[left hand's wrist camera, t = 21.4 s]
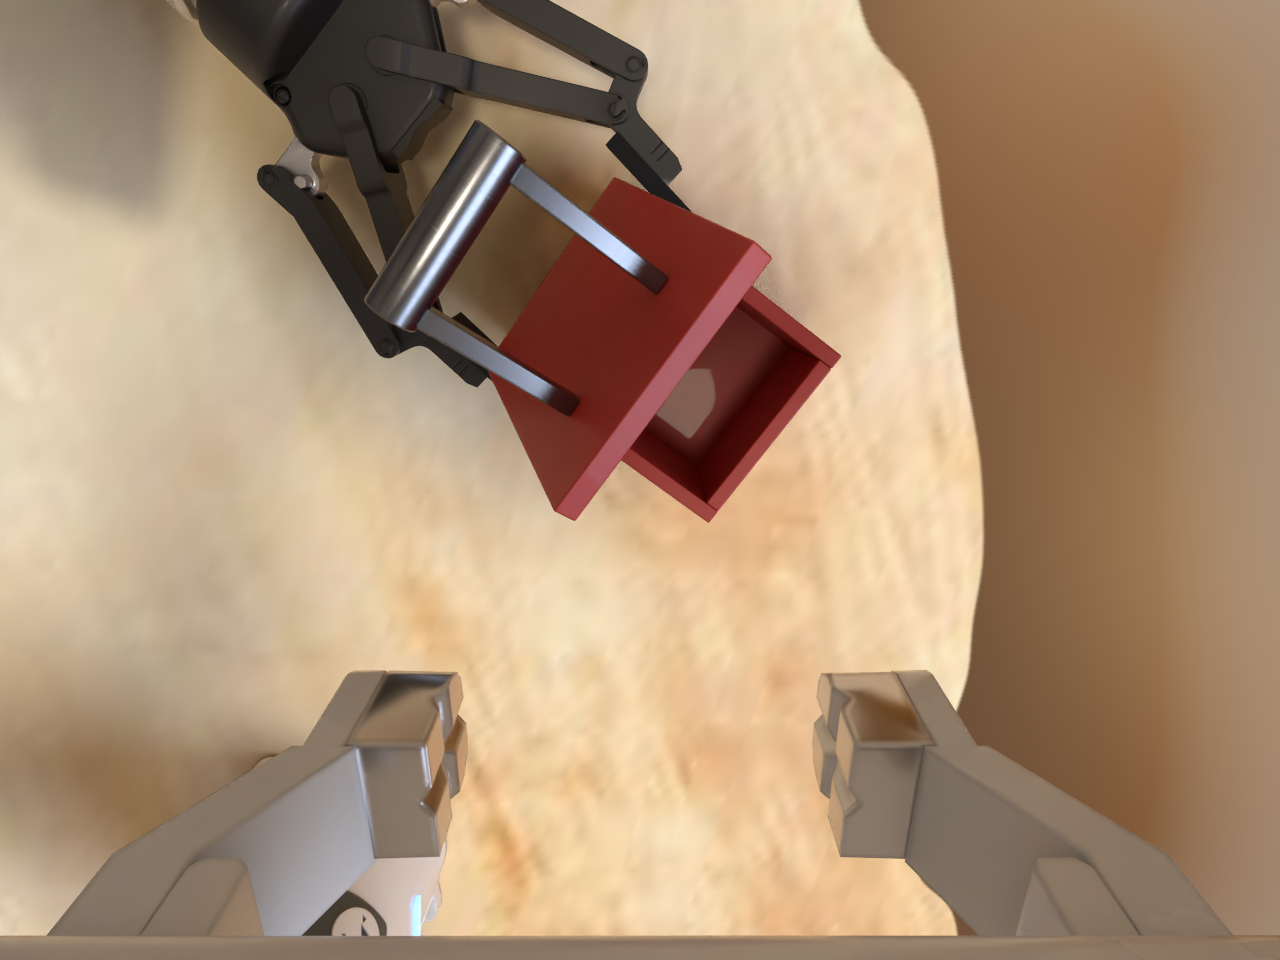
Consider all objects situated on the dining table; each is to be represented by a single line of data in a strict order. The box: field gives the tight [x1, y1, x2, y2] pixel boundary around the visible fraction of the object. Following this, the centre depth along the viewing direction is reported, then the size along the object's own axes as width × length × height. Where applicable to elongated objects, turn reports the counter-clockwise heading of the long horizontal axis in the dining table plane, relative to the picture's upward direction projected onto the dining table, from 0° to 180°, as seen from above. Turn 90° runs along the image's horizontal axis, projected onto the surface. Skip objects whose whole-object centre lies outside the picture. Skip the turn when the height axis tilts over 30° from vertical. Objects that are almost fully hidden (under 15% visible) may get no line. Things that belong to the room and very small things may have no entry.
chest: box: [621, 286, 841, 523], centre depth 39 cm, size 13×10×9 cm
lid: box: [365, 120, 772, 521], centre depth 26 cm, size 13×10×8 cm
